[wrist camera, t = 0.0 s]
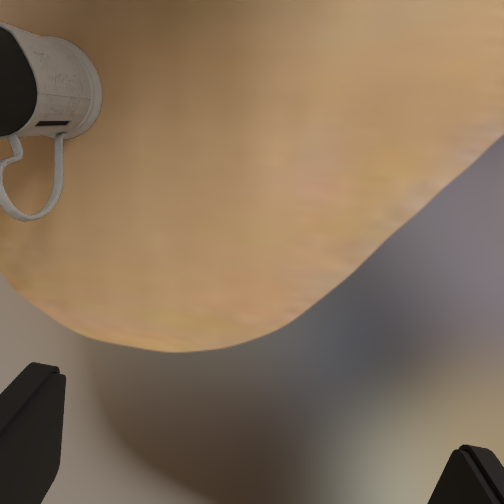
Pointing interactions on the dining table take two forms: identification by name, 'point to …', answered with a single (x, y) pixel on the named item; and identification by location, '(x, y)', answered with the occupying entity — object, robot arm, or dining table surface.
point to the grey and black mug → (43, 99)
